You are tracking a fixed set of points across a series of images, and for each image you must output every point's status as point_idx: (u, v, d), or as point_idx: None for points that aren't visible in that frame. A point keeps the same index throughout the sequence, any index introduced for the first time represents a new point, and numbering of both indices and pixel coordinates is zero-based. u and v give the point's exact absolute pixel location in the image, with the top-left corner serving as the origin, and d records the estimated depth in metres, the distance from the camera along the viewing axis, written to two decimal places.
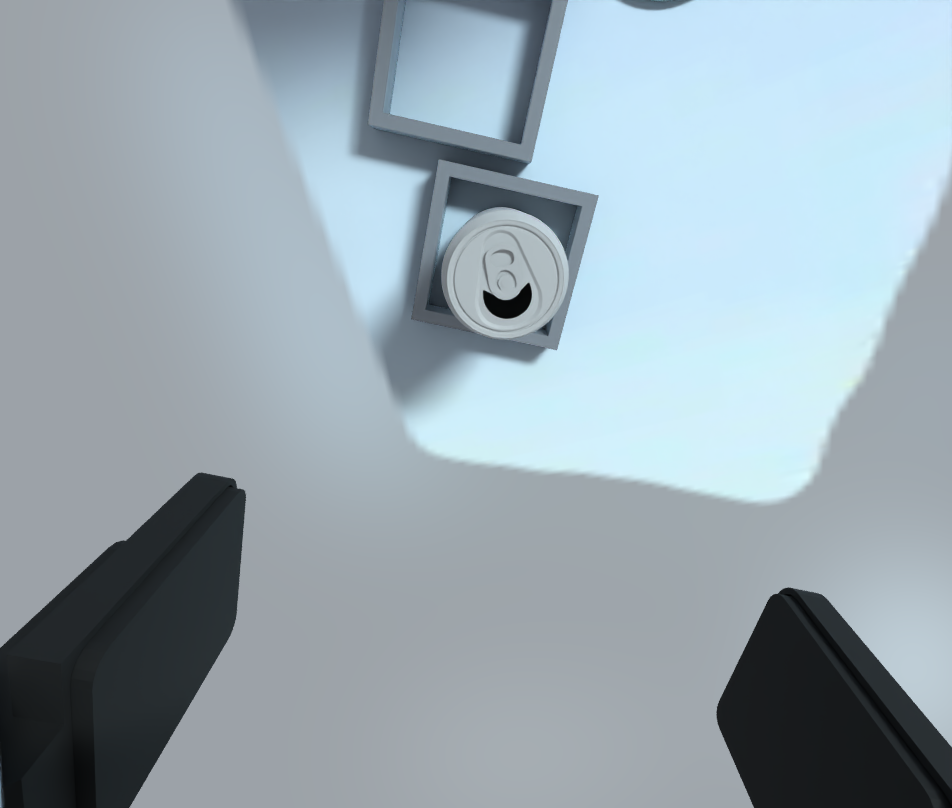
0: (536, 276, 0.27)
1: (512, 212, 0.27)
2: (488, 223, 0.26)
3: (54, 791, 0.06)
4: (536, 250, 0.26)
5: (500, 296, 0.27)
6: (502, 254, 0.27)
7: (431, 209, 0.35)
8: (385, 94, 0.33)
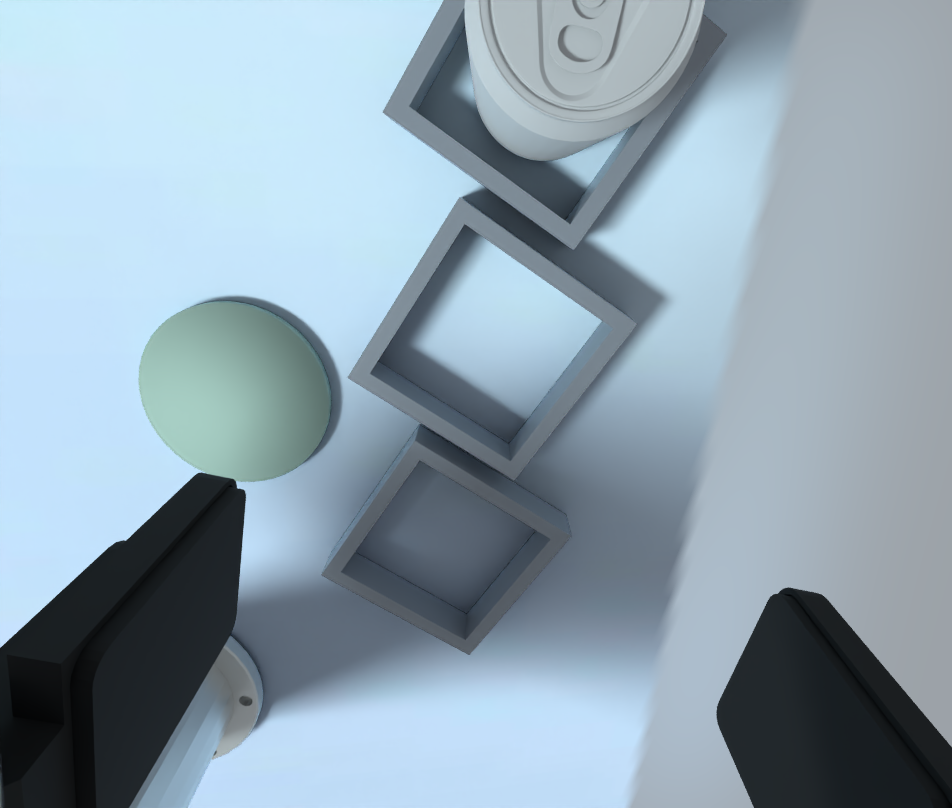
0: None
1: (527, 123, 0.16)
2: (576, 119, 0.15)
3: (54, 791, 0.06)
4: (515, 32, 0.14)
5: None
6: (574, 52, 0.14)
7: (613, 191, 0.24)
8: (600, 344, 0.27)
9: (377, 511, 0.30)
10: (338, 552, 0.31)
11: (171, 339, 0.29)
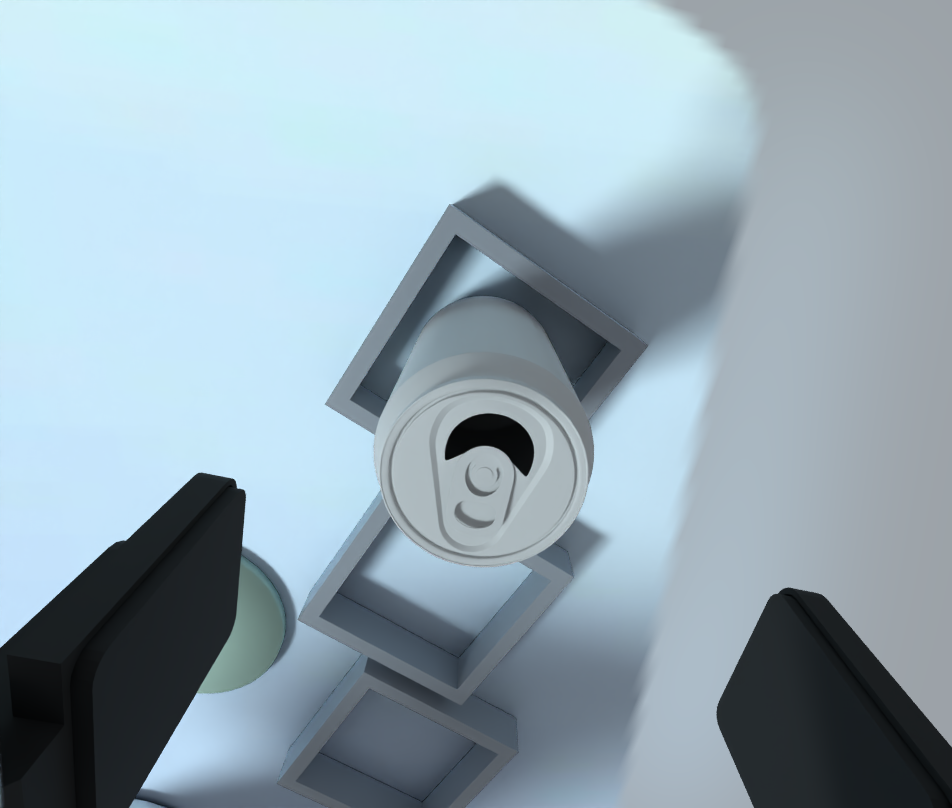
0: (429, 466, 0.15)
1: None
2: (475, 564, 0.16)
3: (54, 791, 0.06)
4: (415, 503, 0.15)
5: (502, 456, 0.15)
6: (471, 516, 0.16)
7: None
8: (539, 593, 0.28)
9: (329, 730, 0.31)
10: (292, 764, 0.32)
11: None
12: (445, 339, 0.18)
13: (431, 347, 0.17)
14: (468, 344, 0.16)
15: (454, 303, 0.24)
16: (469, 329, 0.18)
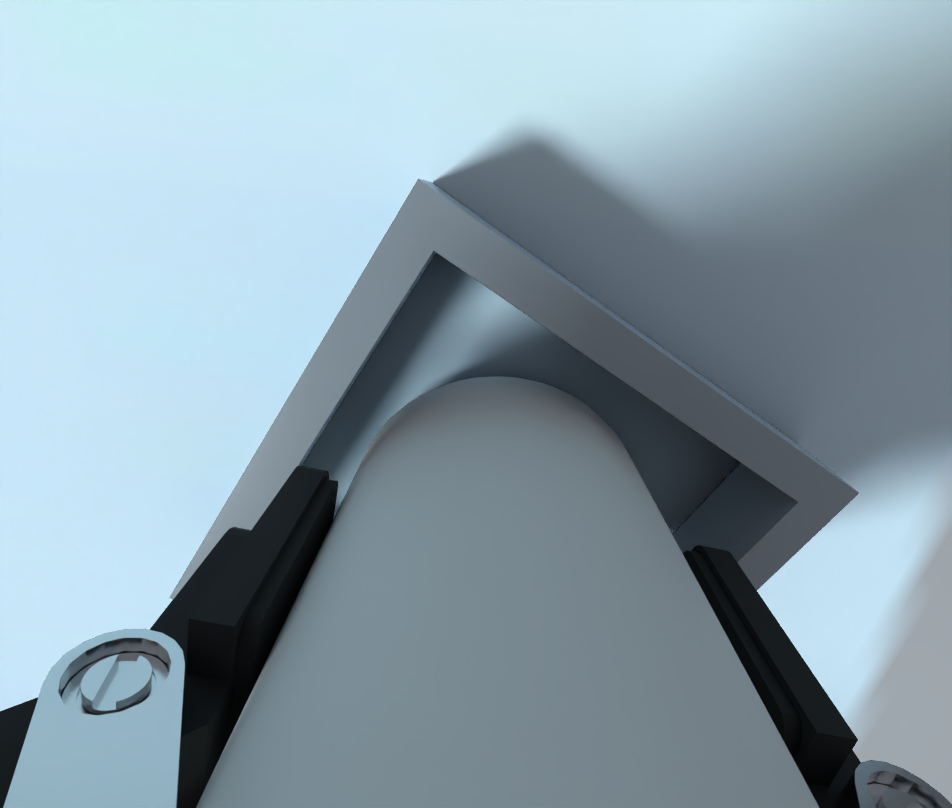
0: None
1: None
2: None
3: (220, 739, 0.06)
4: None
5: None
6: None
7: None
8: None
9: None
10: None
11: None
12: (369, 661, 0.05)
13: (316, 697, 0.05)
14: None
15: (435, 396, 0.11)
16: (459, 602, 0.05)
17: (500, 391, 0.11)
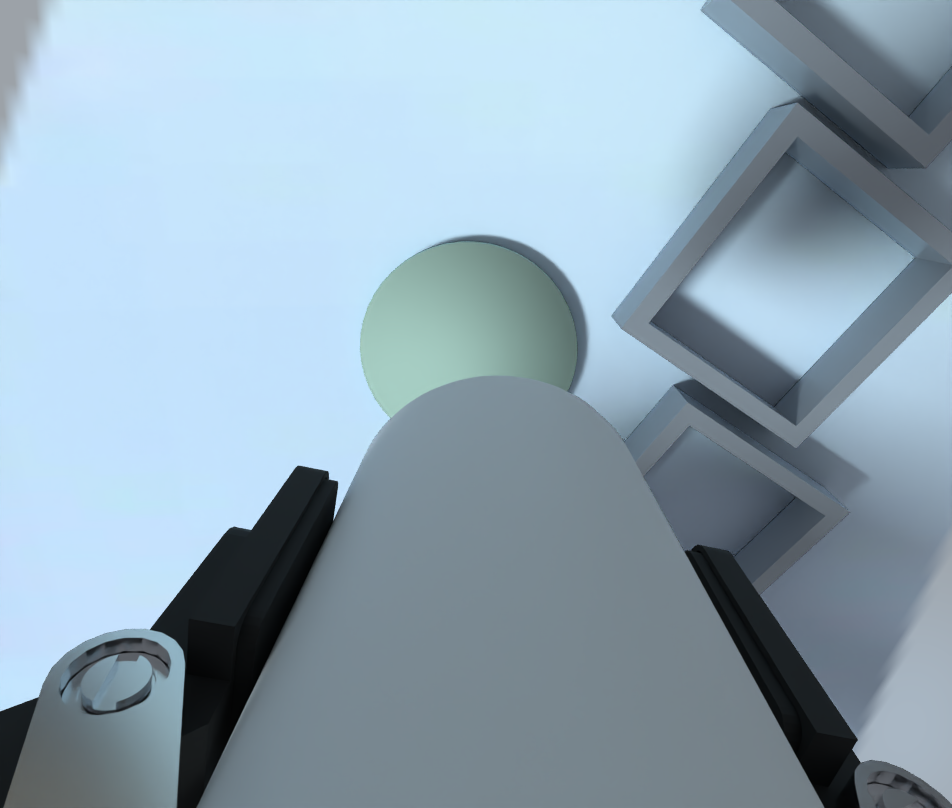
0: None
1: None
2: None
3: (220, 739, 0.06)
4: None
5: None
6: None
7: None
8: (931, 286, 0.23)
9: None
10: None
11: (404, 287, 0.25)
12: (370, 663, 0.05)
13: (316, 700, 0.05)
14: None
15: (436, 395, 0.11)
16: (461, 603, 0.05)
17: (501, 390, 0.11)
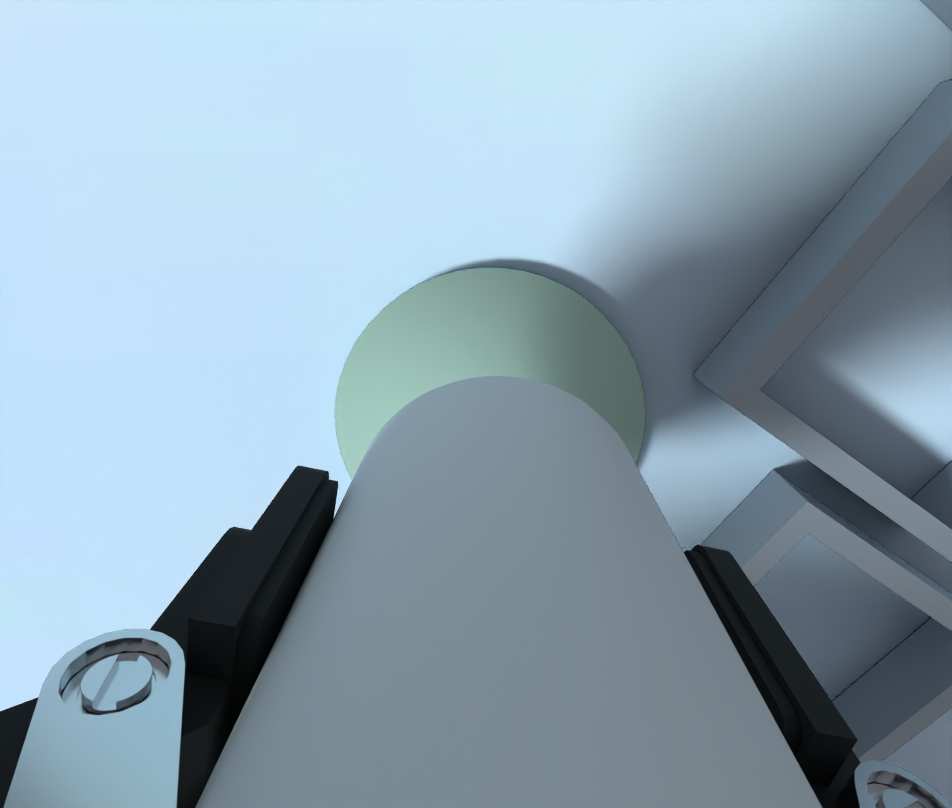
0: None
1: None
2: None
3: (220, 739, 0.06)
4: None
5: None
6: None
7: None
8: None
9: None
10: None
11: (400, 331, 0.17)
12: (368, 665, 0.05)
13: (314, 702, 0.05)
14: None
15: (435, 395, 0.11)
16: (459, 605, 0.05)
17: (501, 391, 0.11)
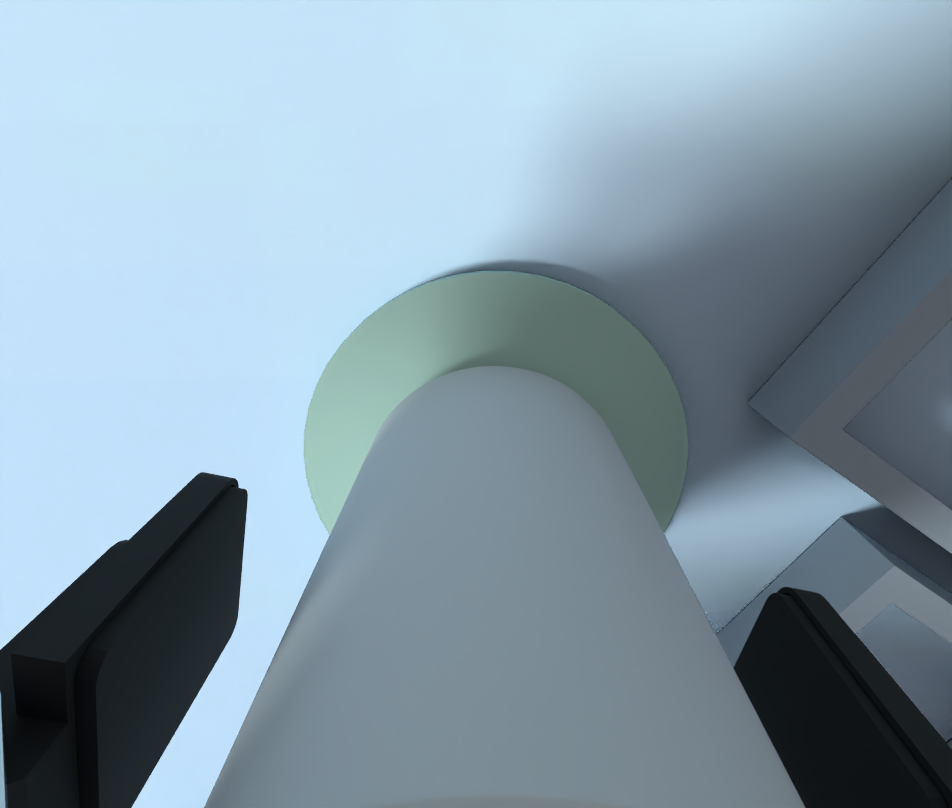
0: None
1: None
2: None
3: (58, 789, 0.06)
4: None
5: None
6: None
7: None
8: None
9: None
10: None
11: (383, 351, 0.14)
12: (392, 580, 0.06)
13: (351, 607, 0.06)
14: (453, 683, 0.05)
15: (439, 383, 0.12)
16: (462, 537, 0.07)
17: (497, 378, 0.12)
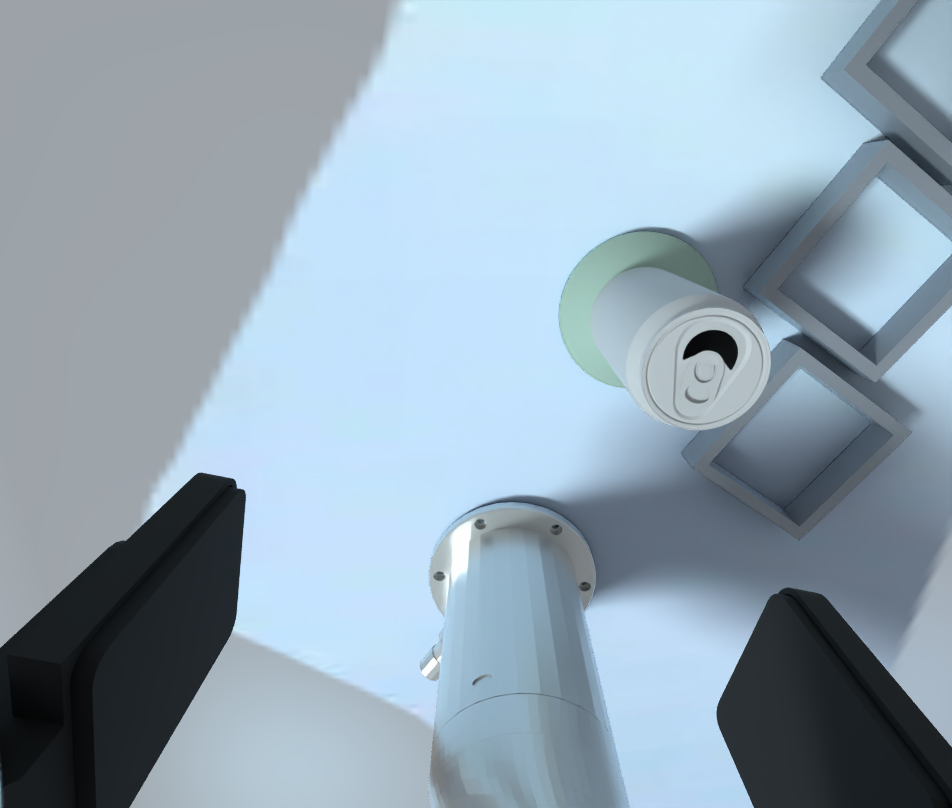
0: (672, 363, 0.25)
1: (658, 419, 0.27)
2: (691, 428, 0.26)
3: (54, 791, 0.06)
4: (660, 387, 0.25)
5: (718, 357, 0.25)
6: (693, 396, 0.25)
7: None
8: None
9: (753, 410, 0.36)
10: (710, 446, 0.37)
11: (599, 263, 0.35)
12: (661, 290, 0.27)
13: (652, 295, 0.27)
14: (688, 291, 0.26)
15: (627, 272, 0.34)
16: (673, 284, 0.28)
17: (651, 268, 0.33)
